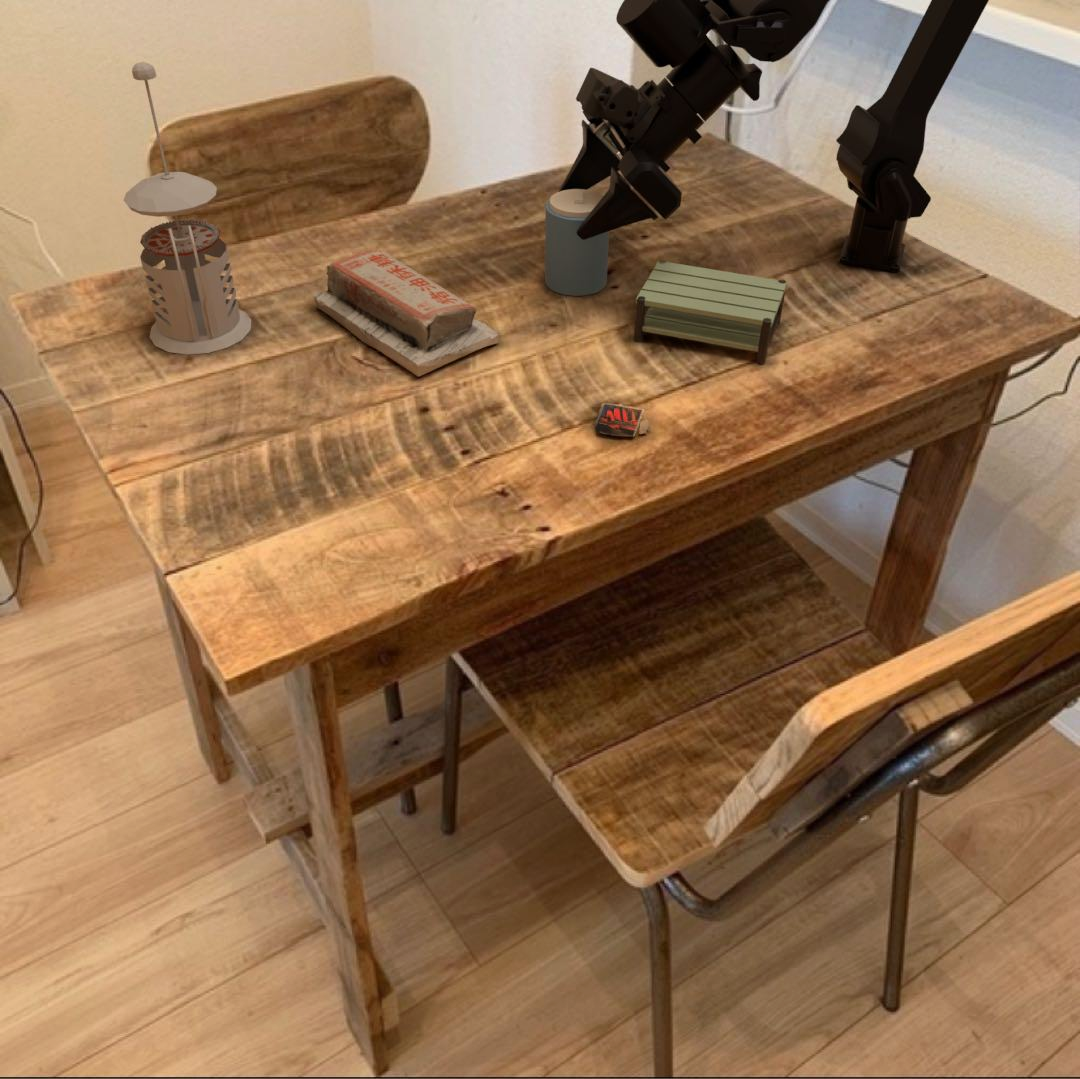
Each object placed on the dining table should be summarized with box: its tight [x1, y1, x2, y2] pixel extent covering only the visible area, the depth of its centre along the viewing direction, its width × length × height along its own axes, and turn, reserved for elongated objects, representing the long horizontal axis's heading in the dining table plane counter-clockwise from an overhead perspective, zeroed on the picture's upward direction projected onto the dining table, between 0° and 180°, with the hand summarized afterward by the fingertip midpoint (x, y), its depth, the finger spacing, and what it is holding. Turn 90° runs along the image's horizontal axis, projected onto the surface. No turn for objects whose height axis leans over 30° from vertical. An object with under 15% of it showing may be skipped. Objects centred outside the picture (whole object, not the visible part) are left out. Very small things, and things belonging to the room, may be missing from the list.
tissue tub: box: [544, 189, 611, 297], centre depth 111 cm, size 7×7×9 cm
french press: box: [123, 61, 252, 356], centre depth 97 cm, size 10×12×25 cm
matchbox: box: [594, 402, 651, 438], centre depth 93 cm, size 5×5×1 cm
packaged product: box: [314, 249, 500, 378], centre depth 104 cm, size 18×5×10 cm
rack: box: [633, 259, 788, 365], centre depth 104 cm, size 9×13×4 cm
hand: (569, 217), depth 109 cm, fingers open, 9 cm apart
